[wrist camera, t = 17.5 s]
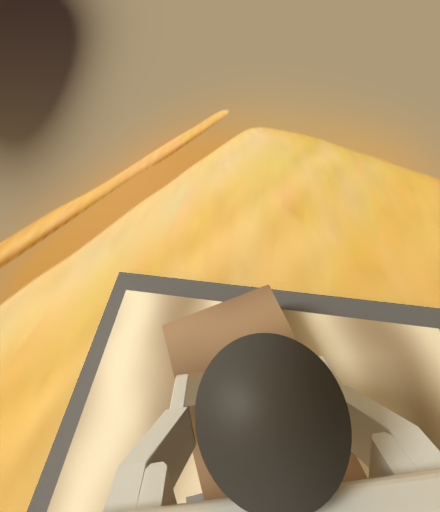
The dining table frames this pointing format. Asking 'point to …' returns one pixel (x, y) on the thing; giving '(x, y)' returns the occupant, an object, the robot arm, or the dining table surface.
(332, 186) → the dining table surface
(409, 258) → the dining table surface
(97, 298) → the dining table surface
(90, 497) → the board
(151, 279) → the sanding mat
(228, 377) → the sanding block
